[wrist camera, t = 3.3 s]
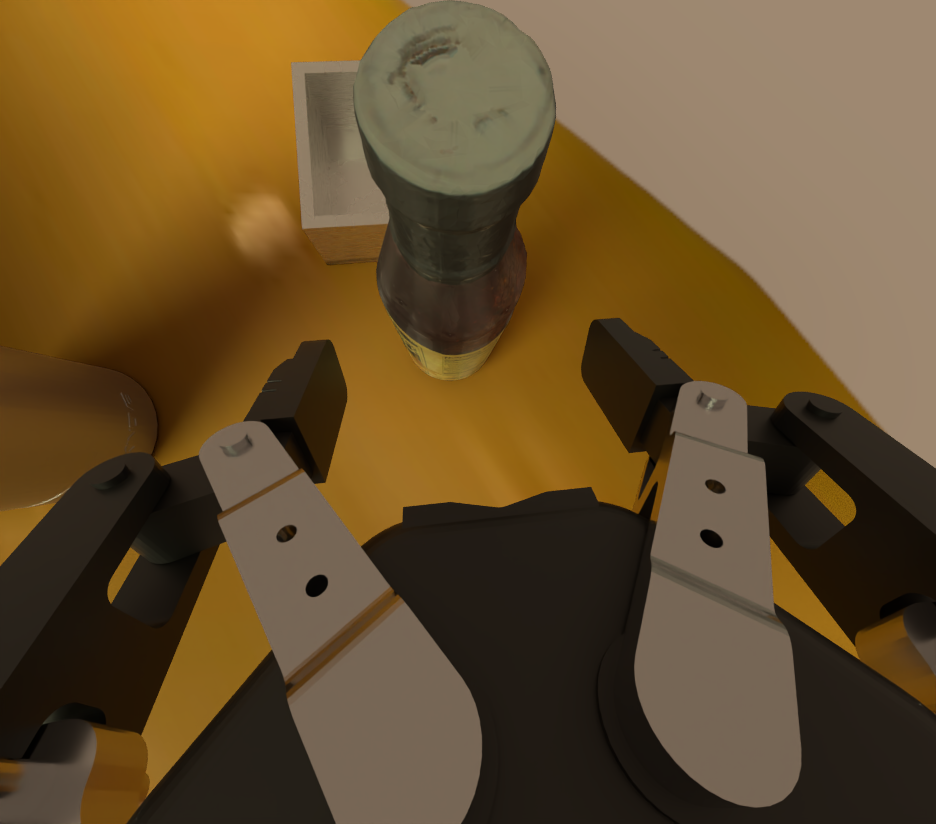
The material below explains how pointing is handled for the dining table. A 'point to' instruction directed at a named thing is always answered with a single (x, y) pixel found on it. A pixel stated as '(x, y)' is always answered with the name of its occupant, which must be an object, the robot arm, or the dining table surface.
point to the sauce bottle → (453, 173)
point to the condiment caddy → (335, 166)
